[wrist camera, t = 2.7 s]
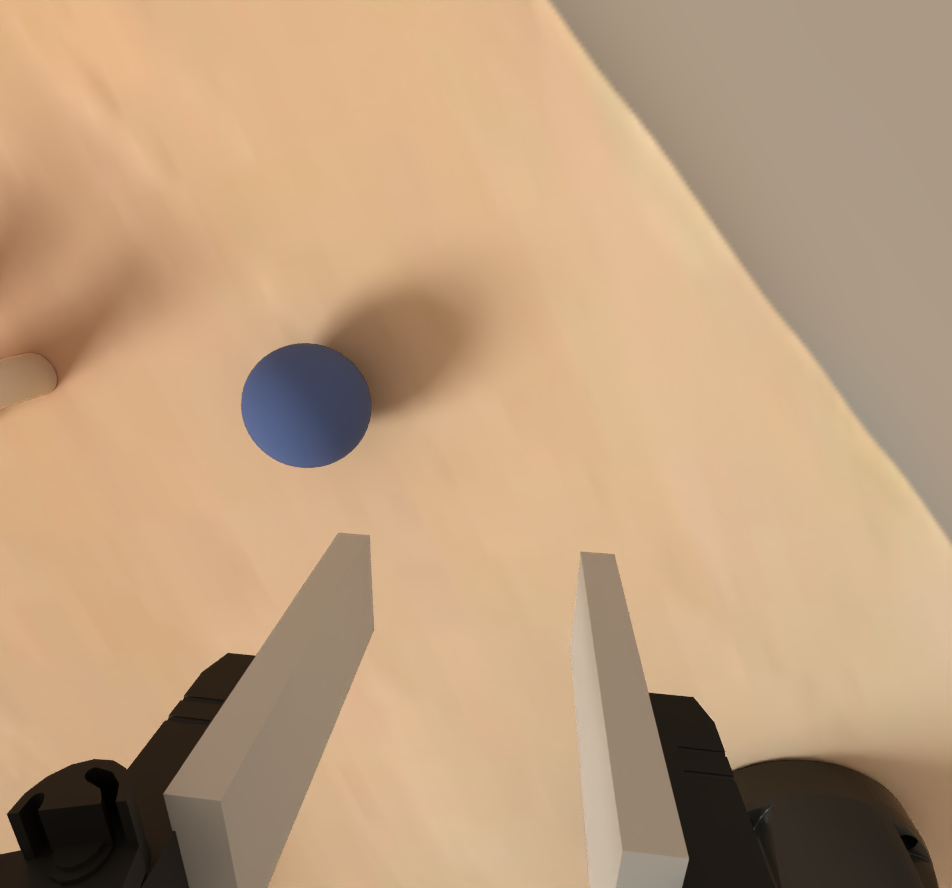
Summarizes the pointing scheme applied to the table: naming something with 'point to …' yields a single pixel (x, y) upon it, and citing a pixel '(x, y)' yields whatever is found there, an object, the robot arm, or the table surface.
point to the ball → (306, 405)
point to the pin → (25, 378)
